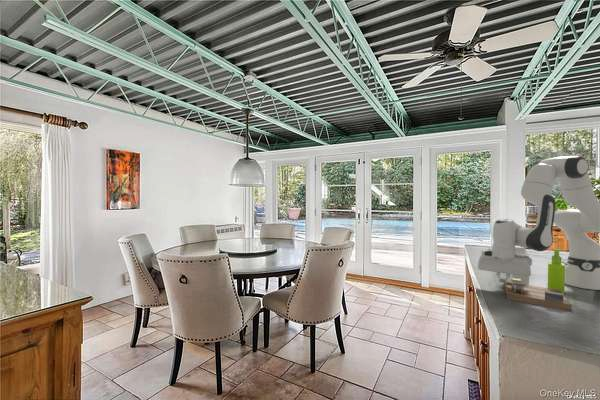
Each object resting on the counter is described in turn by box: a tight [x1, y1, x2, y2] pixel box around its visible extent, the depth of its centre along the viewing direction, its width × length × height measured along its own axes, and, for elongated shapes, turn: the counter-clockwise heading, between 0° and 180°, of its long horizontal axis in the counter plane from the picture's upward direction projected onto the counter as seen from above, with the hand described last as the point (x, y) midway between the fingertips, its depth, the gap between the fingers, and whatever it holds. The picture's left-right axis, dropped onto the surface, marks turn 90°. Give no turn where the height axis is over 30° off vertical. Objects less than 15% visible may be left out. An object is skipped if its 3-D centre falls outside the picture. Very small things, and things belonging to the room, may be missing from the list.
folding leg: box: [512, 277, 524, 293], centre depth 125 cm, size 17×4×3 cm, turn 145°
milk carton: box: [504, 246, 530, 285], centre depth 140 cm, size 7×7×19 cm
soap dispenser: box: [547, 248, 569, 294], centre depth 130 cm, size 6×7×20 cm
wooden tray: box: [504, 282, 573, 312], centre depth 121 cm, size 22×20×6 cm
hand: (502, 282), depth 130 cm, fingers closed
